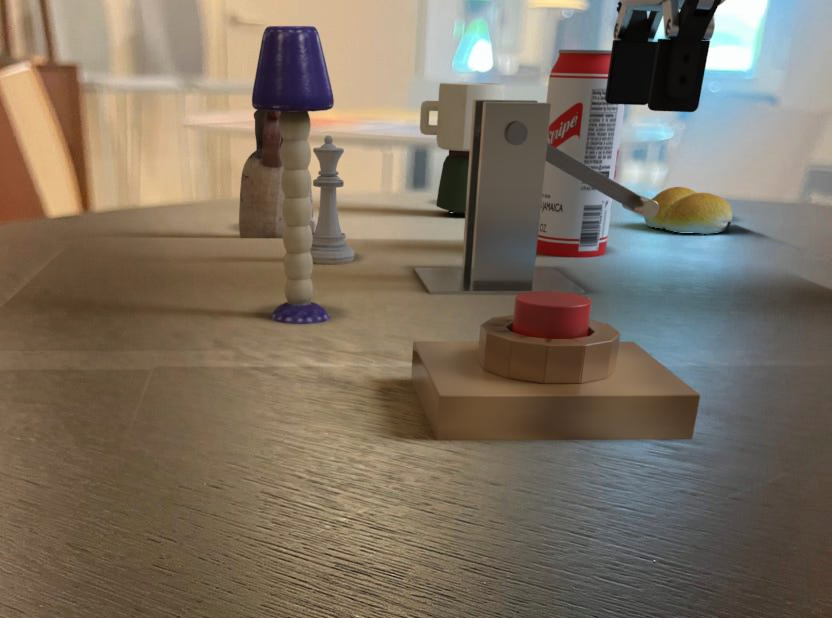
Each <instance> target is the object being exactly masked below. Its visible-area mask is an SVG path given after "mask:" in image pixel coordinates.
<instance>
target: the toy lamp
mask: <svg viewBox="0 0 832 618" xmlns="http://www.w3.org/2000/svg"><path fill="white" fill-rule="evenodd" d="M324 53H325V52H324V50H323V45H322V41H321V37H320V33H319V31H318V28H316V27H315V26H312V25H269V26H266V28H265V29H264V31H263V33H262V37H261V43H260V48H259V53H258V58H257V59H258V60H257V65H256V70H255V77H254V82H253V87H252V95H251V106H252V108H253V109H255V110H263V111H281V113H280V118H279V129H280V133H281V136H282V138H283V142H282V144H281V149H280V157H281V162H282V165H283V167H284V171H283V173H282V179H281V184H282V190H283V193H284V195H285V198H284V201H283V205H282V215H283V219H284V221H285V223H286V225H285V228H284V231H283V239H282V242H283V248H284V249H285V251H286V252H285V254H284V258H283V269H284V270H283V271H284V273H285V275H286V277H287V278H286V280H285V283H284V295H285V299H286V301H285V302H284V303H282V304H280V305H278V306H277V307H276V308H275V309H274V310H273V311H272V312H271V314H270V316H269V319H270V320H271V321H274V322H277V323H283V324H289V325H290V324H291V325H313V324H320V323H324V322H327V321H329V320H330V319H331V315H330V314H329V312H328V311H327V310H326V309H325V308H324V307H323V306H321V305H320V304H318V303H316V302H313V301H312V300H313V296H314V285H313V282H312V279H311V276H312V273H313V270H314V269H313V268H314V263H313V260H312V256H311V254H310V249H311V246H312V240H313V235H312V230H311V227H310V225H309V223H310V221H311V218H312V204H311V200H310V198H309V194H310V191H311V190H312V185H313V181H312V174H311V172H310V170H309V166H310V164H311V159H312V150H311V146H310V142H309V140H308V138H309V136H310V132H311V117H310V115H309V112H322V111H328V110H331V109H333V107H334V105H335V100H334V99H335V98H334V94H333V89H332V84H331V79H330V76H329V71H328V66H327V62H326V57H325V54H324Z"/></svg>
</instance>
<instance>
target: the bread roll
mask: <svg viewBox="0 0 832 618" xmlns="http://www.w3.org/2000/svg"><path fill="white" fill-rule="evenodd" d="M651 199H652V200H654V201H656V202H657V203H658V205H659V211H658V213H657V215H656V216H655V217H653V218H650V219H648V218H645V217H643V219H644V222H645V224H646V226H648V227H649V226H650V227H649V228H652V227H655V228H654V229H656V228H660V229H659V230H666V231H668V230H670V231H676V232H693V233H716V232H721V233H724V232H725V231H727V230H728V229H729V228H730V226H731V224H732V220H733V210H732V206H731V205H730V203H729V202H728V201H727V200H726V199H724V198H723V197H721V196H718V195H716V194H712V193H709V192H696V191H695V190H693V189H691V188H689V187H684V186H673V187H668V188H665V189H664V190H661V191H660V192H659V193H657V194H656V195H654V196H653V197H652V198H651ZM664 228H665V229H664ZM670 231H669V232H670ZM723 231H724V232H723Z"/></svg>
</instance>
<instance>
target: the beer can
mask: <svg viewBox="0 0 832 618" xmlns="http://www.w3.org/2000/svg"><path fill="white" fill-rule="evenodd" d="M611 51H612V49H611V50H610V49H608V50H607V49H606V50H605V49H558V58H557V59H556V61H555V63H554V65H553V66H552V69H551V70H550V72H549V76H548V83H547V94H546V95H547V96H546V101H545V103H551V112H550V122H549V132H548V142H547V143H548V144H550V145H552V146H554V147H555V148H557V149H559V150H561V151H562V152H564V153H566V154H568V155H569V156H571V157H573V158H575V159H576V160H578V161H580V162H582V163H583V164H585V165H587V166H589V167H590V168H592V169H594V170H596V171H597V172H599V173H601V174H603V175H604V176H606V177H608V178H610V179H611V180H613V181H615V182H616V174H617V168H618V160H619V154H620V153H619V152H620V145H621V136H622V130H623V122H624V116H625V115H624V114H625V106H626V105H625V104H609V103H607V102H606V101H605V94H606V87H607V80H608V72H609V65H610V58H611ZM612 205H613V199H612V198H610V197H608V196H607V195H605V194H603V193H601V192H599V191H598V190H596V189H594V188H592V187H591V186H589V185H587V184H585V183H583V182H582V181H580V180H578V179H576V178H575V177H573V176H571V175H569V174H567V173H566V172H564V171H562V170H560V169H559V168H557V167H555V166H553V165H551V164H550V163H548V162H546V161H545V171H544V181H543V191H542V201H541V211H540V221H539V231H538V241H537V251H536V254H538V255H543V256H549V257H559V258H577V259H578V258H595V257H601V256H604V255H605V254H606V251H607V245H608V237H609V228H610V221H611V213H612Z"/></svg>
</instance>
